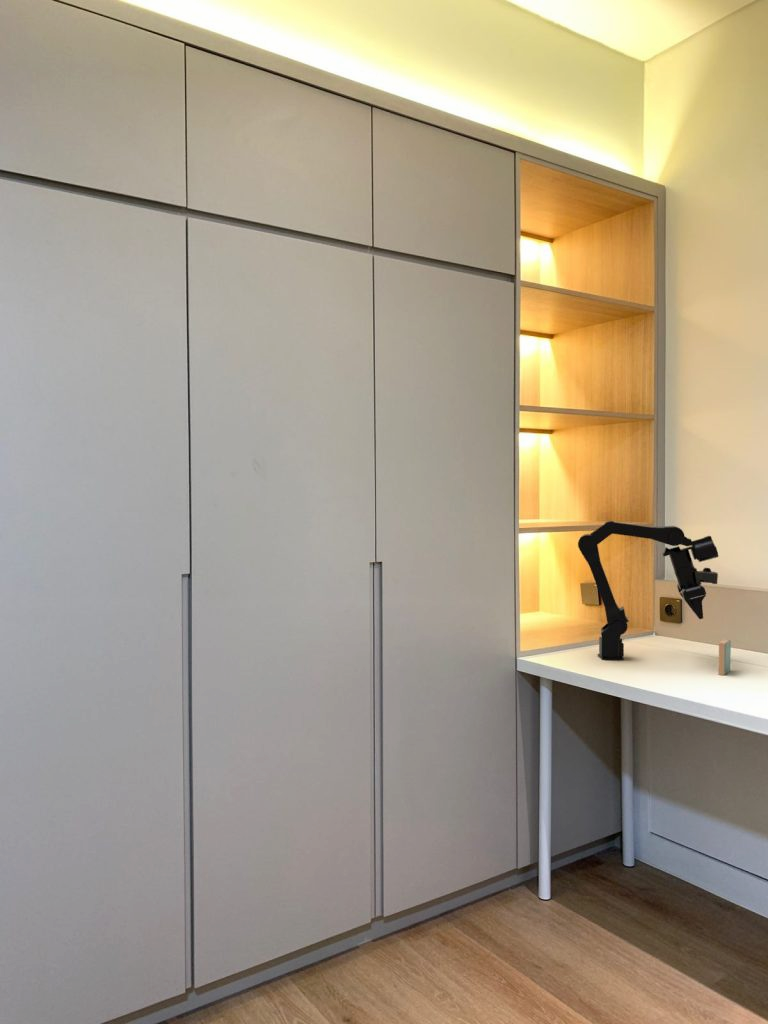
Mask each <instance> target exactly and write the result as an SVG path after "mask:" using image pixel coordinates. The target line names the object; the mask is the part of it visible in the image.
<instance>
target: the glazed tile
mask: <svg viewBox="0 0 768 1024" xmlns="http://www.w3.org/2000/svg"><path fill="white" fill-rule="evenodd" d="M731 650H732V641H731V639H729V638H724V639H722V640H721V641H720V642H719V643H718V675H719V676H725V675H727V673H728V672H730V671H731V661H732V660H731V658H732V657H731V655H732V654H731V653H732V651H731Z"/></svg>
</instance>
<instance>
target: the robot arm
mask: <svg viewBox="0 0 768 1024" xmlns="http://www.w3.org/2000/svg"><path fill="white" fill-rule="evenodd" d="M611 535H619V536H626V537H627V536H628V537H632V538H633V537H634V538H635V537H636V538H643V539H650V540H653V541H657V542H659V543H662V544H665V545H669V546H672V548H668V547H667V546H665V548H664V550H663V551H662V553H661V555H662V556H663V557H668V556H669V558H670V562H671V566H672V568H673V574H674V575H675V577H676V580H677V585H676V588H677V591H678V593H679V595H680V596H681V598H682V599H683V600H684V602H685V603H686V604H687V605H688V607H689V608H690V610H692V612H693V613H694V614H695V616H696V617H697V618H698V620H702V619H704V612H703V611H704V610H703V609H704V608H703V601H704V599H705V597H706V596H707V592H706V589H705V587H704V586H703V585H702V584H703V583H704V584H713V585H718V578H719V574H718V572H716V571H712V569H711V568H710V567H703V569H702V570H698V568H696V567H695V565H694V562H693V560H697V562H698V563H701V562H705V561H709V560H712V559H716V558H719V553H718V549H717V546H715V545H716V544H715V542H714V540H713V538H712V536H711V535H706V536H704V537H701V538H698V539H695V540H692V539H691V538H689V537H686V536H685V533H684V531H683V530H682V528H680V527H678V526H675V525H659V526H649V525H641V524H640V525H639V524H633V523H626V522H618V521H614V520H607V521H605V522H604V524H602V525H601V526H599V527H598V528H597V529H595V530H594V531H593V532H591V533H586V534H583V535H581V536H580V537H579V539H578V541H577V547H578V549H579V551H580V553H581V555H582V556H583V558H584V559H585V561H586V563H587V564H588V566H589V568H590V571H591V574H592V577H593V579H594V583H595V584H596V587H597V590H598V593H599V596H600V598H601V600H602V603H603V606H604V612H605V617H606V622H607V623H606V624H604V625H603V626H601V628H600V636H598V637H599V639H598V640H599V641H598V642H599V643H598V647H599V649H598V653H597V657H599V658H600V659H601V660H605V661H606V660H609V661H610V660H611V661H612V660H615V661H617V660H619V661H622V660H623V661H624V660H625V658H624V655H625V652H624V651H625V650H624V649H625V647H624V646H625V644H624V642H623V638H621V636H622V635H624V634H625V633H626V632H627V630H628V623H629V617H628V616H627V615H626V612H625V607H624V606H621V607H619V605H618V603H617V602H616V599H615V596H614V593H613V591H612V589H611V586H610V584H609V581H608V577H607V575H606V573H605V570H604V567H603V565H602V562H601V557H600V551H599V546H598V545H599V544H600V543H602V542H603V541H605V540H607V538H608V537H610V536H611ZM679 545H681V546H685V547H683V548H681V547H680V546H679ZM691 556H692V557H691ZM692 558H693V559H692Z"/></svg>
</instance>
